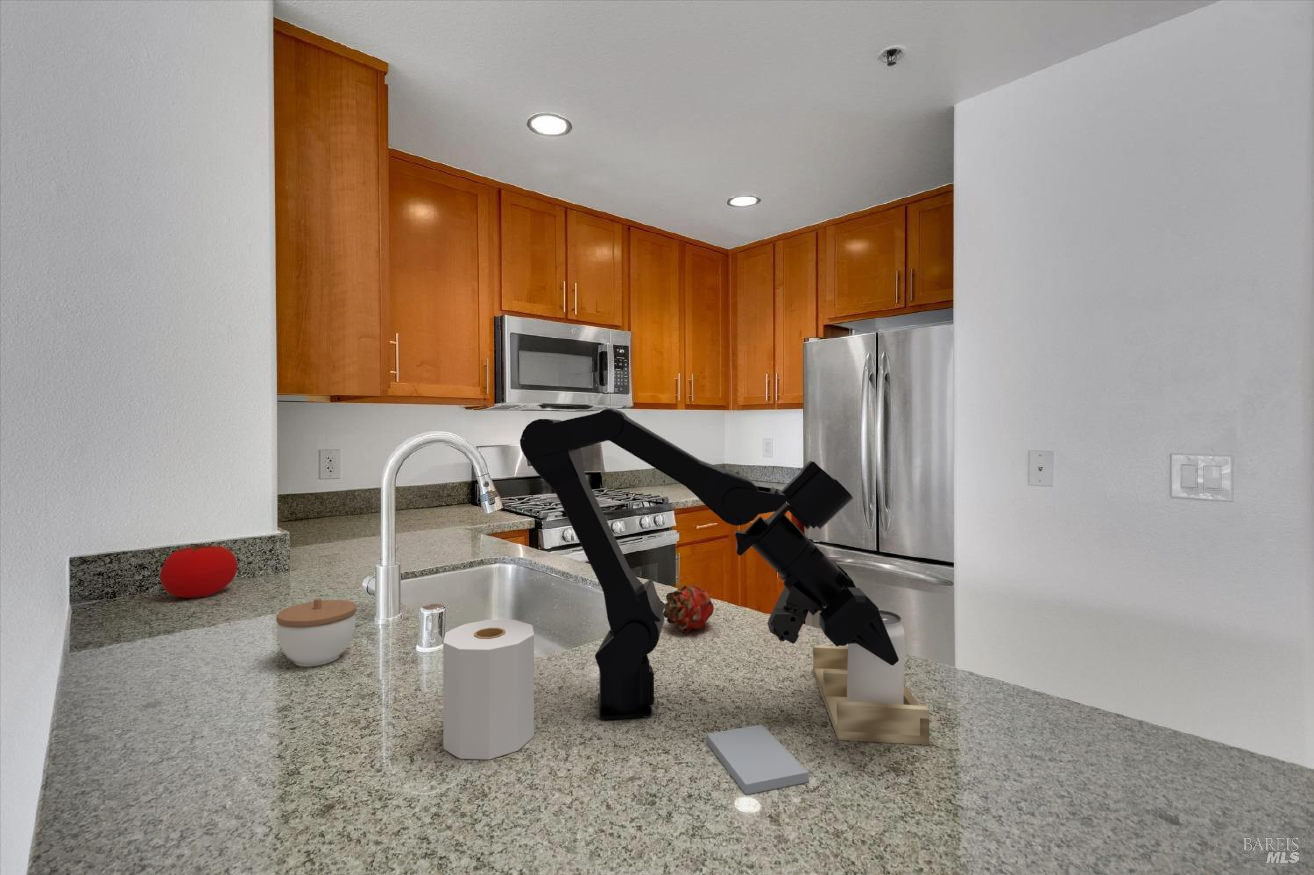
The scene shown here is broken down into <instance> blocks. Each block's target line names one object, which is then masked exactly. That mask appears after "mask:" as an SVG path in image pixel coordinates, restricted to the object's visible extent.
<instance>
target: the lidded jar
mask: <svg viewBox="0 0 1314 875" xmlns="http://www.w3.org/2000/svg"><path fill="white" fill-rule="evenodd" d="M356 613H357V604H356V603H355V602H354V601H350V600H345V599H344V600H343V599H327V600H326V599H325V600H324V599H322V598H321V597H318V598H313V601H309V602H308V601H307V602H305V603H300V604H296V605H293V606H289V607H287V608H285V609H282V610H280V611H279V612H278V613H277V614H276V623H277V638H278V641H279V646H280V649H281V651H282V653H283V654H284V656H286V658H288V659H289V660H291V661H292V662H294V664H295V665H296V666H298V667H303V668H304V667H305V668H311V667H312V668H313V667H319V666H322V665H323V666H324V665H327V664H330V663H333V662H335V661H337V660H338V659H339V658H340V657H341V654H342V653H343V652H345V650H346V649H347V648H348V646H349V645H350V643H351V641H352V639H353V637H354V633H355V630H356V629H355V628H356V616H357V615H356Z"/></svg>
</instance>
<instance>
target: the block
mask: <svg viewBox="0 0 1314 875" xmlns="http://www.w3.org/2000/svg"><path fill="white" fill-rule="evenodd" d="M706 744H707V745H708V746H709V748H710V750H712V752H713V753H714V754H715V756H716V757H717V759H719V761H720V762H721V764H722V765H723V767H725V769H726V770H727V771H728V773H729V775H731V777H732V778H733V780H734V782H736V783H737V785H738V787H739V788H740V789H741V791H742V792H743V793H744V794H745V795H746V796H747V795H751V794H756V793H761V792H766V791H770V790H775V789H776V790H777V789H781V788H786V787H791V786H796V785H800V784H806V783H809V782H810V777H809V775H810V774H809V771H808V769H806V768H805V767H804V766H803V765H802V764H801V762H799V761H798V759H797V758H795V757H794V755H793V754H792V753H791V752H789V750H787V749H786V747H785V746H784V745H782V743H781V742H780V741H778V739H777V738H776V737H775V736H773V734H772V733H771V732H770V731H769V730H767V728H766V727H765V726H764V725H763V724H758V725H753V726H745V727H739V728H734V729H729V730H722V731H715V732H711V733H706Z"/></svg>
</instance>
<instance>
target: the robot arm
mask: <svg viewBox="0 0 1314 875" xmlns="http://www.w3.org/2000/svg"><path fill="white" fill-rule="evenodd" d="M604 442H611V443H612V444H614V445H616V446H617V447H619V448H621V449H623V450H624V451H626V452H628V453H630V454H631V455H633V456H634V457H636V458H638V459H640V460H641V461H643V462H644V463H646V464H648V465H650V466H651V467H653V468H654V469H656V470H657V471H660V472H661V473H662V474H664V475H666V476H668V477H669V478H670V479H673V480H674V481H676V482H678V483H680V484H681V485H683V486H684V487H686V488H687V489H688V490H689V491H690V492H691V493H692V494H694V495H695V497H697V499H699V500H700V502H702V503H703V505H705V506H706V507H707V508H708V509H710V511H712V512H713V514H715V515H716V516H718V518H720V519H721V520H722V521H723V522H725V523H726V524H729V525H732V526H743V525H747V524H750V523H751V522H753V523H752V524H750V525H749V526H748V527H747V528H746V529H745V530H738V529H736V530H735V531H734V536H735V539H736V545H735V550H736V555H737V556H739V557H741V556H743V554H745V553H746V552H747V551H748V550H749V549H750V548H751V547H752V548H753V549H754V550H755V552H757V553H758V554H759V555H760V557H762V558H763V559H764V560H765V562H766V563H768V565H770V566H771V567H772V568H773V569H774V571H776V572H777V574H778V575H779V576H780V579H781V580H782V581H783V582H782V583H783V586H784V588H783V590H782V592H781V593H780V595H779V597H778V599H777V600H776V603H775V605H774V608H773V609H772V611H771V613H770V615H769V618H768V620H767V627H768V630H769V633H770V634H773V635H774V636H776V637H777V639H778V641H780V642H785V641H786V642H788V643H791V644H793V645H794V644H795V643H796V642H797V641H798V639H799V633H800V631H801V629H802V626H803V625H804V623H805V621H806V618H808V617H807V616H808V614H809V613H810V614H811V615H812V617H813V616H815V615H816V614H817V613H818V612H819V621H818V622H819V626H820V628H821V630H822V632H823V635H825V636H826V637H827V639H828V640H829V641H830V642H831V643H832V644H833V646H836V647H837V646H845V647H846V646H848V644H858V645H860V646H861V647H863V648H865V649H866V650H868V651H869V652H871V653H873V654H874V655H876V656H877V657H879V658H880V659H882V660H884V661H885V662H887V663H888V664H890V665H892V666H893V665H894V664H896V663H897V662H898V661H899V658H898V656H897V654H896V651H895V649H894V647H893V644H892V642H891V640H890V637H889V635H888V632H887V630H886V627H885V625H884V623H883V620H882V618H881V615H880V611H879V607H878V606H877V605H876V604H875V602H874V601H873V600H872V599H871V598H869V596H868V595H867V594H866V593H865V592H864V591H863V590H862V589H861V588H860V587H856V584H855V583H854V581H853V579H852V578H851V577H850V575H849V574H848V573H847V572H846V571H845V570H844V568H843V567H842V566H841V565H840V564H839V563H837V561H835V560H832V559H831V560H830V558H828V556H827V555H826V554H824V553H823V551H821V549H820V548H819V547H818V546H817V545H816V544H815V542H813V541H811V539H810V538H809V537H808V536H806V534H805V533H804V532H803V531H801V529H799V527H798V526H797V525H796V524H795V523H794V522H792V521H791V519H790V518H789V517H788V516H787V515H786V514H787V512H789V513H790V514H791V515H792V516H793V517H794V518H795V519H796V520H797V521H798V522H799V523H800V524H801V525H802V526H803V527H804V528H805V529H807V531H808V530H809V529H810V528H812V529H816V527H817V528H818V529H819V530H821V529H823V527H825V526H826V525H827V524H828V523H829V522H830V521H831V520H832V519H833V518H834V517H835V516H836V515H837V514H838V513H839V512H840V511H842V509H844V508H845V507H846V506H847V505H848V504H849V503H850V502H852V500H853V499H854V497H853V496H852V494H851V493H850V492H849V491H848V490H847V488H845V487H844V486H843V485H842V484H841V483H840V482H839V481H838V480H837V479H836V478H834V477H832V476H831V475H830V474H828V473H827V472H826V471H825V470H824V469H823V468H821V467H820V466H819V465H818V464H817V463H816V462H815V461H813V460H809V461H808V462H807V463H806V464H805V465H803V467H802V468H801V470H800V472H798V473H797V475H796V476H795V477H794V478H793V479H792V480H791V481H790V482H788V484H786V485H785V486H784V487H783V488H782V489H780V488H775V487H774V486H771V487H769V486H768V487H766V486H761V485H760V486H759V485H756V484H755V482H753V481H752V480H751V479H750V478H748V477H747V476H744V475H742V474H739V473H737V472H734V471H731V470H728V469H725V468H723V467H720V466H718V465H715V464H712V463H709V462H706V461H704V460H701V459H699V458H697V457H696V456H695V455H692V454H690V453H689V452H687V451H685V450H684V449H682V448H680V447H678V446H677V445H676V444H674V443H672V442H671V441H669V440H667V439H666V438H664V437H662V436H660V435H659V434H657V433H655V432H654V431H652V430H650V429H648V428H646V427H645V426H644V425H642V424H640V423H639V422H638V421H635V420H633V419H631V417H629V416H627V415H626V413H625V412H623V411H622V410H619V409H615V408H605V409H603V410H601V411H599V412H594V413H591V414H586V415H582V416H578V417H574V418H569V419H564V420H560V419H554V418H553V419H551V418H538V419H535V420H533V421H531V422H529V423H528V424H527V425H526V426H525V428H524V429H523V430H522V433H521V437H520V439H519V445H520V449H521V452H522V454H523V456H524V457H525V458H526V460H527V461H528V462H529V464H530V466H532V468H533V470H534V471H535V472H536V474H537V475H538V476H540V478H541V479H542V480H543V481H544V482H545V483H546V484H547V485H548V486H549V487H550V488H551V489H552V490H553V491H554V493H555V495H556V497H557V499H558V500H559V503H560V504H561V506H562V509H563V511H564V514H565V515H566V518H567V519H568V521H569V524H570V525H571V527H572V529H573V531H574V534H575V536H576V537H577V539H578V541H579V544H580V547H581V548H582V550H583V552H584V554H585V556H586V558H587V561H588V562H589V565H590V567H591V569H592V570H593V573H594V575H595V577H596V579H597V580H598V583H599V585H600V588H601V589H602V592H603V597H604V603H605V604H604V605H605V611H606V617H607V618H606V619H607V622H608V624H609V628H610V629H609V630H608V631H607V633H606V635H605V637H604V639H603V641H602V642H601V644H600V645H599V648H598V649H597V651H596V653H595V654H594V658H595V660H596V663H597V666H598V671H599V673H598V686H599V687H598V691H599V692H598V693H597V704H598V706H597V707H598V718H599V719H600V720H604V721H605V720H618V719H633V718H634V719H636V718H649V717H652V716H653V712H652V708H651V706H653V705H654V704H655V674H654V670H653V667H652V665H651V664H650V659H649V656H648V655H649V654H650V653H652V652H653V651H654V649H655V648H656V647H657V645H658V642H659V639H660V636H661V633H662V630H663V627H664V624H665V617H664V614H663V612H664V611H665V608H664V607H665V604H666V603H665V602H663V601H662V599H661V598H660V597H659V595H658V592H657V590H656V587H655V584H654V581H653V579H652V578H651V579H649V580H647V581H646V582H644V583H643V582H642V581H641V580H640V579H639V578H638V577H637V576H636V575H635V574H634V573H633V571H632V570H631V568H630V567H631V566H629V564H628V562H627V560H626V557H625V555H624V553H623V551H622V548H621V547H620V545H619V543H618V541H617V539H616V537H615V534H614V532H613V531H612V528H611V526H610V525H609V523H608V520H607V518H606V516H605V513H604V512H603V510H602V508H601V506H600V504H599V502H598V500H597V497H596V496H595V494H594V492H593V490H592V487H591V485H590V483H589V481H588V480H587V476H586V471H585V464H584V458H583V453H582V450H581V449H583V448H586V447H590V446H593V445H598V444H601V443H604ZM768 513H769V514H770V513H772V514H771V515H769V517H767V518H766V519H765V518H764V517H763V516H761V515H763V514H768ZM759 515H760V516H759ZM757 516H759V517H757ZM756 518H757V519H756ZM754 520H755V521H754Z"/></svg>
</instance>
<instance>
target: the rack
mask: <svg viewBox="0 0 1314 875" xmlns="http://www.w3.org/2000/svg"><path fill="white" fill-rule="evenodd" d="M847 666H848V646H846V645H845V646H837V647H836V646H835V645H821V644H819V645H818V644H817V645H816V644H813V645H812V674H813V676H814V679H815V682H816V685H817V687H818V690H819V692H820V695H821V698H822V700H823V703H824V706H825V708H826V711H827V713H828V717H829V719H830V721H831V724H832V728H833V729H834V731H835V735H836V737H837V740H839V741H852V742H853V741H855V742H869V743H887V744H889V743H890V744H901V743H902V744H903V743H904V744H905V745H918V744H919V746H920V744H921V745H923V746H930V709H929V707H928V706H927V705H920V704H919V701H917V700H916V699H915V697H914V696H913V694H912V693H911V691H910V690H909V688H908V687H907V686H906V684H905V682H906V681H905V679H906V678H905V676H904V699H903V705H901V704H882V703H863V702H847ZM904 744H903V745H904Z"/></svg>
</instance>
